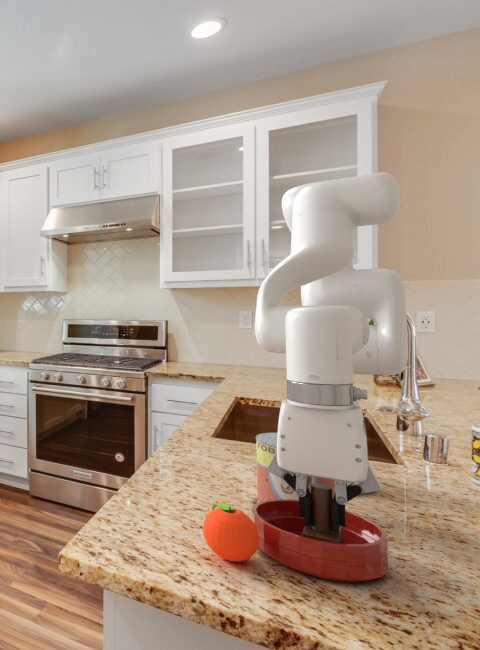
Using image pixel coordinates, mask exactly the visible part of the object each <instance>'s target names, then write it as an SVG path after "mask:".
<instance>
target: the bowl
mask: <svg viewBox="0 0 480 650" xmlns="http://www.w3.org/2000/svg"><path fill="white" fill-rule="evenodd" d="M345 514H346V526H341V530H342V544H339V543H332V542H325V541H319V540H315V539H311V538H306V537H303V530H304V527H305V518H304V517H300V516H299V500H291V499H273V500H265V501H261V502H259V503H257V502H256V503H254V504H253V505H252V507H251V520H252V521H253V522H254V524H255V526H256V528H257V530H258V533H259V545H258V549H259V550H260V551H262V553H264V554H265V555H267V556H269V557H270V558H271V559H272V560H274V561H276V562H278V563H280V564H281V565H283V566H285V567H287V568H290V569H292V570H294V571H298V572H299V573H302V574H306V575H309V576H313V577H317V578H319V579H320V578H321V579H325V580H331V581H337V582H351V583H352V582H364V581H370V580H374V579H379V578H381V577H383V576H385V574H387V573H388V572H389V549H388V548H389V547H388V532H387V531H386V530H385V529H384V528H383V527H382V526H381V525H379V523H376V522H374V521H373V520H371V519H369V518H367V517H365V516H363V515H361V514H357V513H355V512H352V511H349V510H347V509H345Z"/></svg>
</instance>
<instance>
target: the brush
mask: <svg viewBox="0 0 480 650" xmlns="http://www.w3.org/2000/svg"><path fill="white" fill-rule="evenodd" d="M331 503H332V488H331V487H330V486H327V485H324V484H311V512H312V525H311V526H310V527H308V526H305V527H304V530H303V537H306V538H311V539H315V540H319V541H325V542H332V543H339V544H342V530H341V526H340V528H339V534H338V533H334V531H332V509H331Z"/></svg>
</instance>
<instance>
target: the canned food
mask: <svg viewBox="0 0 480 650" xmlns="http://www.w3.org/2000/svg"><path fill="white" fill-rule="evenodd" d="M277 434H278V431H277V432H275V431H274V432H262V433H261V432H260V433H258V434H256V435H255V440H256V441H255V443H256V444H255V445H256V446H255V448H256V483H257V484H256V489H257V490H256V491H257V500H256V503H259V502H261V501H265V500H273V499H291V500H299V496H298V495H297V494H296V492H295V491H294V490H293V489H292V487H291V486H290V485H289V484H288V483H287V482H286V481H285V480H284V479H282V478H279V477H278V476H276V475H274V474H272V473H271V472H269V471H268V467H269V465H270V463H271V461H272V460H273V458H274V456H275V455H276V453H277ZM293 474H294V475H295V476H296V473H293ZM311 484H324V485H327V486H330V487H331V488H332V498H333V497H334V494H335V482H334V480H331V479H325V478H319V477H313V476H308V488H309V489H310V492H311Z"/></svg>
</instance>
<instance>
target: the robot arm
mask: <svg viewBox="0 0 480 650" xmlns="http://www.w3.org/2000/svg"><path fill="white" fill-rule="evenodd" d="M400 189H401V188H400V185H399V183H398V180H397V179H396V178H395V177H394V176H393V174H391V173H389V172H385V171H384V172H375V173H368V174H362V175H355V176H348V177H342V178H334V179H326V180H320V181H314V182H309V183H304V184H300V185H297V186H294V187H292V188H290V189H287V190H286V192H285V193H284V194H283V195H282V198H281V211H282V215H283V218H284V221H285V223H286V226H287V228H288V230H289V232H290V234H291V236H290V237H291V238H290V239H291V241H290V254H289V255H288V256H287V257H285V258H284V259H283V260H281V261H280V262H279V263H278V264H276V265H275V266H274V267H273V268H272V270H271V271H269V273H268V274H267V275H266V276H265V278H263V279H264V280H262V282H261V284H260V287H259V288H258V292H257V295H256V296H257V297H256V305H255V306H256V307H255V317H254V337H255V340H256V343H257V344H258V346H259V347H260V348H261V349H262V350H264V351H266V352H268V353H274V354H275V353H276V354H285V356H286V357H285V360H286V362H285V363H286V369H285V370H286V399H282V400H281V404H280V408H279V414H278V415H279V416H278V423H277V432H278V434H277V453H276V455H275V456H274V458H273V460H272V461H271V463H270V465H269V467H268V471H269V472H271V473H272V474H274V475H276V476H278V477H279V478H282V479H284V480H285V481H286V482H287V483H288V484H289V485H290V486H291V487H292V489H293V490H294V491H295V492H296V494H297V495H298V496H299V516H300V517H304V518H305V526H308V527H310V526H311V525H312V512H311V492H310V489H309V488H308V476H313V477H319V478H325V479H331V480H334V482H335V494H334V497H333V498H332V503H331V509H332V531H334V533H338V534H339V528H340V526H346V514H345V510H346V505H347V503H348V502H350V501H351V500H353V499H355V498H357V497H358V496H360V495H362V494H368V493H374V492H379V491H381V488H382V485H381V483H380V481H379V479H378V477H377V476H376V474H375V473H374V470H373V469H372V467H371V465H370V464H369V451H368V450H369V449H368V439H367V429H366V423H365V418H364V414H363V411H362V407H361V406H360V401H361V400H368V389H365V388H364V389H363V388H362V389H361V388H360V387H357V386H356V385H354V374H355V375H373V376H374V375H375V376H394V375H395V376H396V375H400V374H401V373H403V372H404V371H405V369H406V368H407V365H408V360H409V359H408V358H409V344H408V321H407V319H408V318H407V298H406V289H405V284H404V281H403V278H402V276H401V275H400V274H399V273H398V272H397V271H395V270H393V269H391V268H389V269H388V268H381V267H380V268H362V269H361V268H359V269H356V268H354V266H353V259H354V255H355V254H354V252H355V250H354V229H353V228H356V227H365V226H375V225H376V226H377V225H384V224H389V223H392V222H393V221H394V220H396V218H397V217H398V215H399V213H400V210H401V203H402V199H401V198H402V195H401V190H400ZM298 288H300V298H301V300H300V301H301V305H280V306H279V305H278V303H279V302H280V300H282V299H283V297H284V296H286V295H288V294H289V293H291V292H292V291H294V290H296V289H298ZM369 319H370V320H372V321H374V323H375V324H370V322H369ZM293 473H296V476H295V475H294V474H293Z"/></svg>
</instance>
